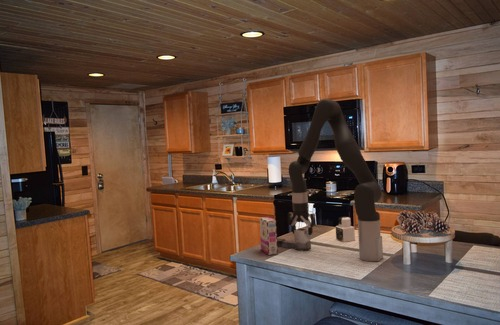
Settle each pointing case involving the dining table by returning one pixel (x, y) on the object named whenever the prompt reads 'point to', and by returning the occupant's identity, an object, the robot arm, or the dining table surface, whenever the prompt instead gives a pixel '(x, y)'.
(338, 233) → the medicine bottle
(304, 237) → the socket
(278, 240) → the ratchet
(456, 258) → the dining table surface
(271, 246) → the candy bar box
